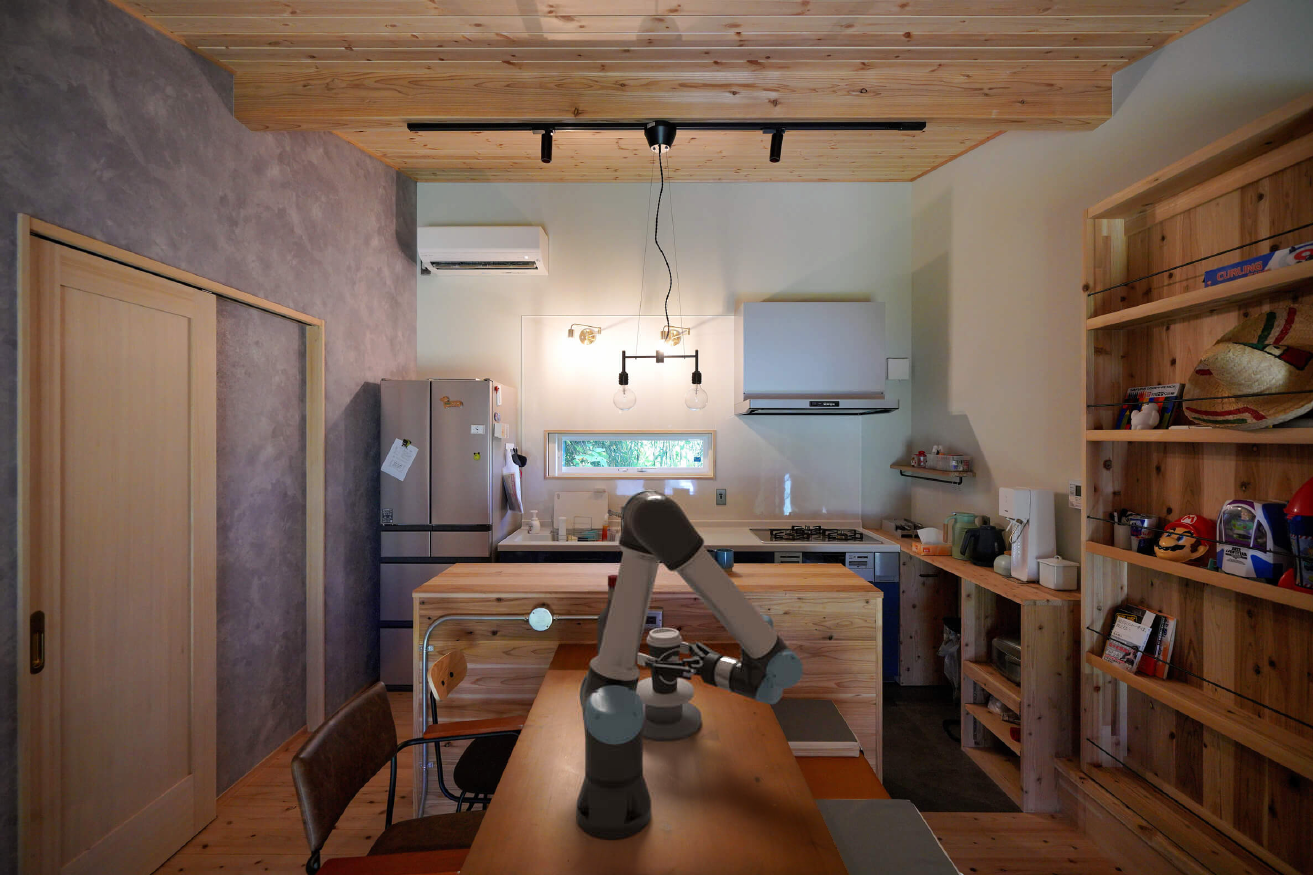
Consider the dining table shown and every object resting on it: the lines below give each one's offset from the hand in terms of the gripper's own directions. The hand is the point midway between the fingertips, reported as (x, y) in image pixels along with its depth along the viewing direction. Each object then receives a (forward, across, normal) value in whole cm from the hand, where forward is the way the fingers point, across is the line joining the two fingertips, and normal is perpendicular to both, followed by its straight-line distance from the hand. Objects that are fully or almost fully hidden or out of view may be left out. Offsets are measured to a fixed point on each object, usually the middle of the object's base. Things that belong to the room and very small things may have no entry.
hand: (654, 650), depth 153 cm
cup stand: (-3, 0, -18) cm, 18 cm away
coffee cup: (-3, 0, -10) cm, 10 cm away
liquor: (+30, +16, -18) cm, 39 cm away
